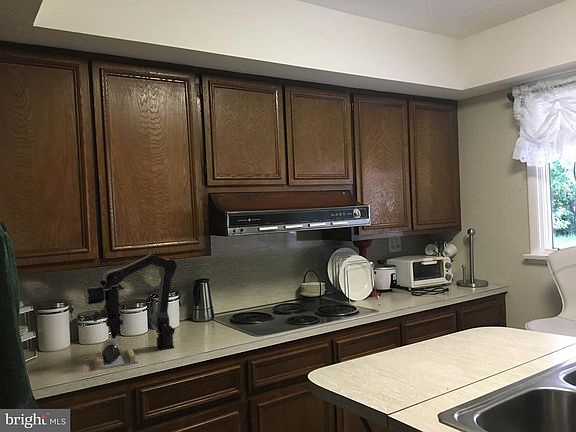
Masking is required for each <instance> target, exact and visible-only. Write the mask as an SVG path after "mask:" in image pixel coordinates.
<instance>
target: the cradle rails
mask: <svg viewBox="0 0 576 432" xmlns="http://www.w3.org/2000/svg"><path fill="white" fill-rule="evenodd" d="M125 350H126V351H125V352H126V354H127V356H128V359H129V361H130V363H133V362H135V356H136V355H135V352H134V351H133V348H132V347H128V348H126V349H125ZM95 359H96V360H97V365H98V368H102V367H104V364H103V356H102V351H101V352H95Z"/></svg>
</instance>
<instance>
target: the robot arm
mask: <svg viewBox="0 0 576 432" xmlns="http://www.w3.org/2000/svg"><path fill="white" fill-rule="evenodd" d="M151 265H153V266H155V267H158V273H159V276H160V282H159V290H158V296H157V297H158V298H157V307H156V311H155V313H151V315H150V318H151V319H150V322H149V323H150V324H151V328H152V329H153V330H155V332H156V333H157V337H155V341H156V342H155V344H156V348H158V350H160V351H161V350H167V349H168V348H169V349H173V348H175V346H174V336H173V335H174V334H175V331H176V330H175V328H174V327H173V326H171V325H170V317H169V311H168V309H169V302H170V293H171V284H172V279H173V277H174V276H175V274H176V270H177V265H178V264H177V262H176V261H175V260H174V259H170V258H162V257H160V256H157V255H155V254H151V253H149V254H146V256H144V257H141V258H140V259H137V260H135V261H133V262H131V263H129V264H126V265H125V266H122V267H119V268H118V267H117V268H115V269H110V270H106V271H105V272H104V273H103V274H102V277H101V278H102V279H101V280H100V282H99V283H98V285H97V286H94V287H86V288H85V291H84V292H85V293H84V302H85V305H86V306H89V305H95V304H102V303H103V302H104V304H103V307H102V308H99V309H97V310H95V311H92V312H91V313H90V317H91V319H92V320H93V322H94V323H95V322H97V321H98V320H101V319H102V318H103V319H104V320H105V319H106V320H105V321H104V323H105V325H106V326H105V327H109V330H110V334H111V335H110V336H111V338H112V340H114V339H116V337H117V335H118V332H119V329H120V327H121V326H123V325H124V319H123V317H121V314H122V313H121V303H120V290H122V291H123V290H125V287H123V286H122V285H121V284H120V283H121V282H123V281H124V280H125V279H126V278H127V277H128V276H130V275H133V274H134V273H136V272H138V271H140V270H143V269H144V268H147V267H149V266H151Z"/></svg>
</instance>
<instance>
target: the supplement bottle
mask: <svg viewBox="0 0 576 432" xmlns="http://www.w3.org/2000/svg"><path fill="white" fill-rule="evenodd" d="M101 354H102V358H104V360H106V361H109V362H113V361H115V360H116V359H117V358H118V357H119V355H120V354H121V351H120V346H119V343H118V342H117V341H115V340H114V339H109V340H106V341H105V342H104V343H103V344H102V345H101Z"/></svg>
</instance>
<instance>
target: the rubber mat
mask: <svg viewBox="0 0 576 432" xmlns="http://www.w3.org/2000/svg"><path fill="white" fill-rule="evenodd" d="M102 358H103V357H102ZM103 364H104V367H102V368H98V365H97V360H96V358H93V365H94V370H95V371H97V370H98V371H99V370H103V369H104V370H105V369H110V368H116V367H124V366H129V365H134V364H136V365H137V364H139V361H138V358H137V356H136V355H135V362H133V363H130V361H129V359H128V356H127V353H126V354H121V355H119V357H118V358H117V359H116V360H115V361H113V362H109V361H106V360H104V358H103Z"/></svg>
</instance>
